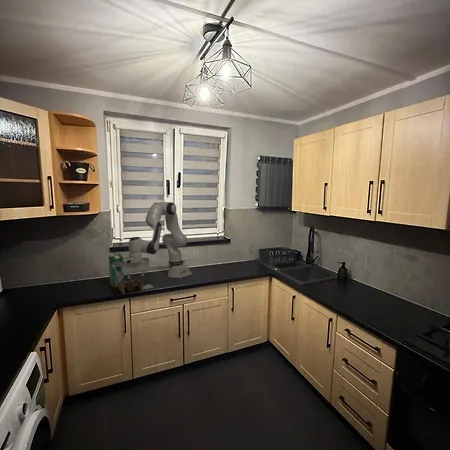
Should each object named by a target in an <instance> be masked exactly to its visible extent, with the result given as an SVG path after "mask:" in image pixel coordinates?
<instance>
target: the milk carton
mask: <svg viewBox="0 0 450 450" xmlns="http://www.w3.org/2000/svg"><path fill="white" fill-rule="evenodd" d="M123 259H125V258H124V257H123V256H122V254H121V253H117V254H110V255H108V264H109V265H108V266H109V268H108V269H109V281H110V282H109V284H110V285H109V286H111V287H112V288H119V282H124V281H126V279H125V274H123V273H121V265H122V263H123V262H122V260H123Z"/></svg>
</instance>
